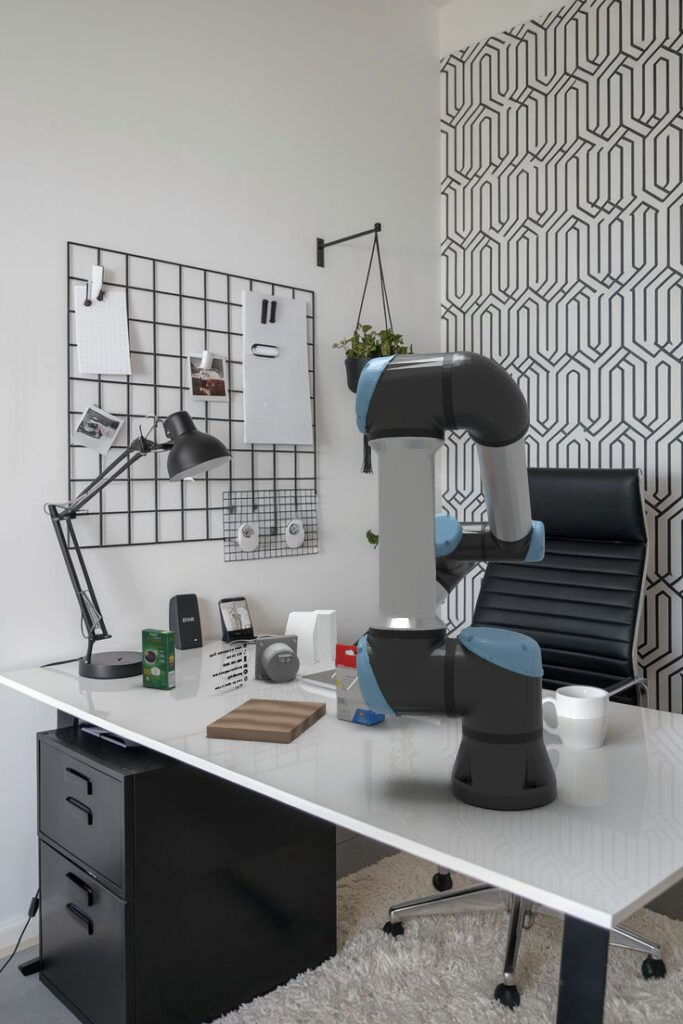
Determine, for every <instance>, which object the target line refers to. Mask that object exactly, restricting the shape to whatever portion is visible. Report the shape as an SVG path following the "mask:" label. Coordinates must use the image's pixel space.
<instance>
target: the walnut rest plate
mask: <svg viewBox="0 0 683 1024" xmlns="http://www.w3.org/2000/svg"><path fill="white" fill-rule="evenodd" d="M326 713H327V703H326V702H317V701H316V702H315V701H299V700H298V701H297V700H282V699H281V700H280V699H263V698H250V699H248V700H247V701H245V702H244V703H242V704H240V705H239V706H237V707H235V708H234V709H232V710H230V711H229V712H227V713H226V714H224V715H223V716H220V717H219V718H217V719H216V720H214V721H213V722H211V723H209V724H207V726H206V738H211V739H212V738H213V739H223V740H225V739H226V740H228V739H229V740H236V739H239V740H240V739H241V741H250V740H254V742H263V741H267V742H266V743H276V742H281V743H280V744H290V743H291V741H292V740H293V741H294V740H295V739H296V738H298V737H300V736H301V734H302V733H304V732H305V731H307V730H308V728H310V727H311V726H312V725H314V724H315V723H316V722H317V721H318V720H320V719H321V718H322V717H323V716H324V715H326ZM268 741H269V742H268ZM293 741H292V742H293Z"/></svg>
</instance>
